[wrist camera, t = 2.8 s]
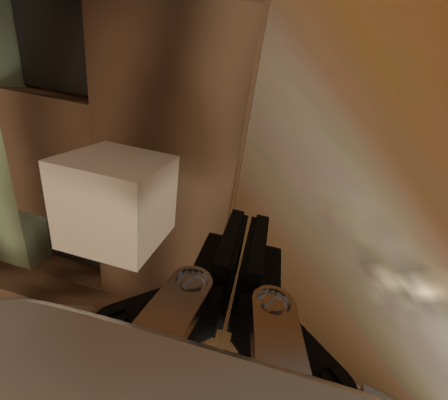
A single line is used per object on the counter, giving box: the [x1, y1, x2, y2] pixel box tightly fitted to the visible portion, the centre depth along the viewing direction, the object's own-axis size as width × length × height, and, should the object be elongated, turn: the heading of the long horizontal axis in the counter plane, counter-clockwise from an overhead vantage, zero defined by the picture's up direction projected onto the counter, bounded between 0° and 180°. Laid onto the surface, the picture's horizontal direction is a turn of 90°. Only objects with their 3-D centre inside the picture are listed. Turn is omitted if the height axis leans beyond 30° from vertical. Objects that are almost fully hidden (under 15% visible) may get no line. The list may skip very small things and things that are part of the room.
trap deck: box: [0, 0, 270, 344], centre depth 18 cm, size 26×24×5 cm
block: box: [38, 141, 180, 272], centre depth 15 cm, size 5×5×5 cm
